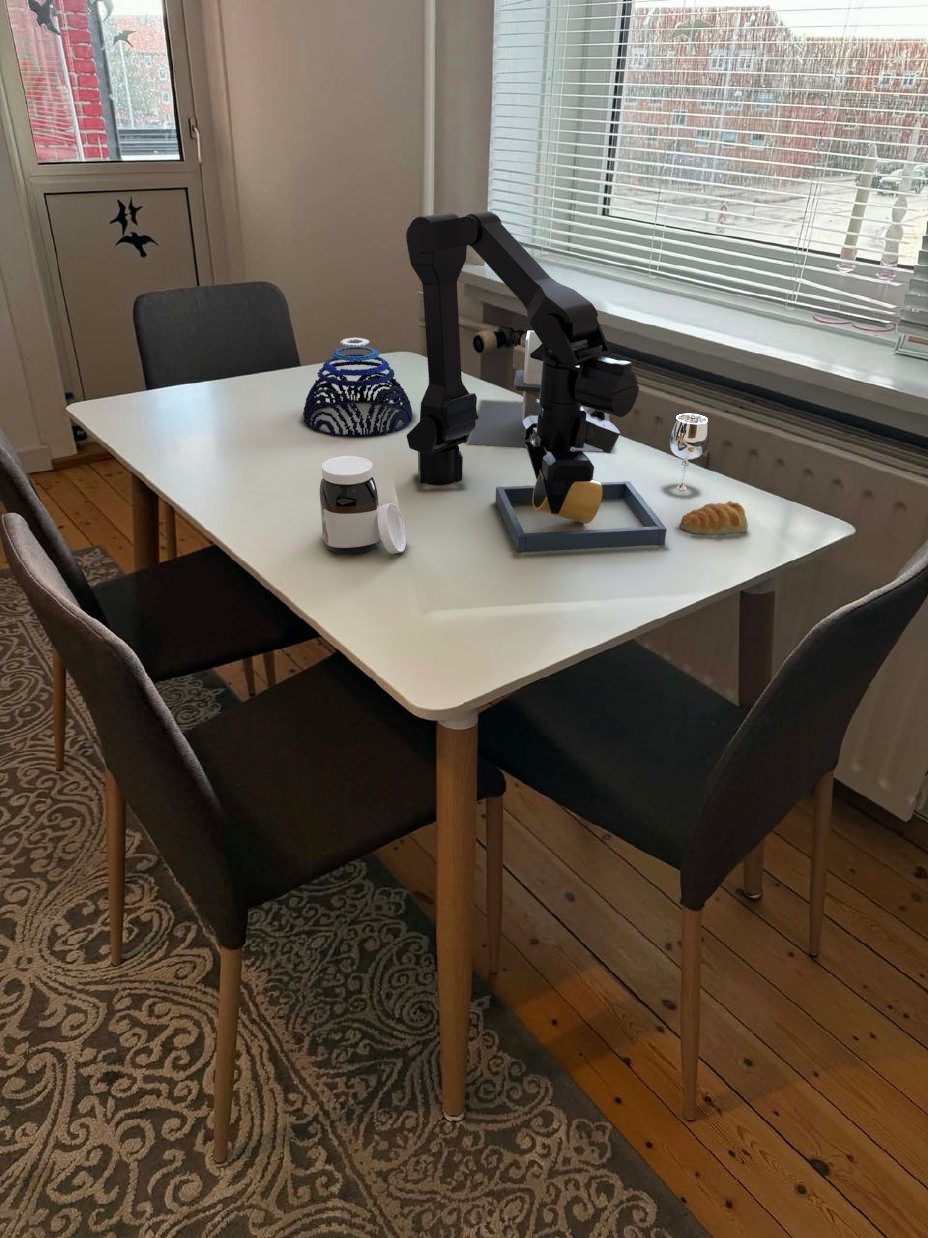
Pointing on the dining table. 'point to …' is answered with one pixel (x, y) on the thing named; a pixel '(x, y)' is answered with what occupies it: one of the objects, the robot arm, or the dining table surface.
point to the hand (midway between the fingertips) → (549, 503)
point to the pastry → (715, 519)
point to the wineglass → (689, 439)
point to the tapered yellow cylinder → (572, 500)
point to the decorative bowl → (362, 382)
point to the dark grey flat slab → (515, 407)
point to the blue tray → (582, 538)
